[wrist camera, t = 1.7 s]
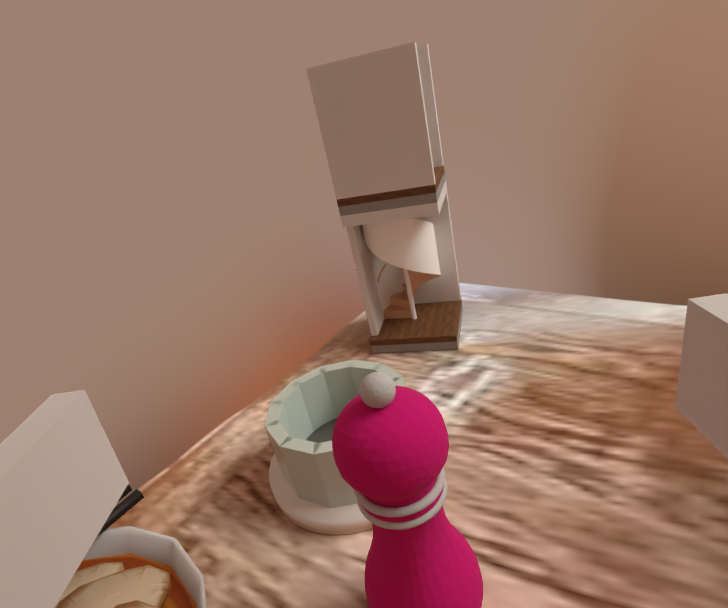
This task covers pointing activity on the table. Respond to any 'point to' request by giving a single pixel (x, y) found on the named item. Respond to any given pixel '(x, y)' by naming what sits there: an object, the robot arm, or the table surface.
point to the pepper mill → (404, 498)
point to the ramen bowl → (134, 569)
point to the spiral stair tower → (392, 194)
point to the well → (316, 447)
